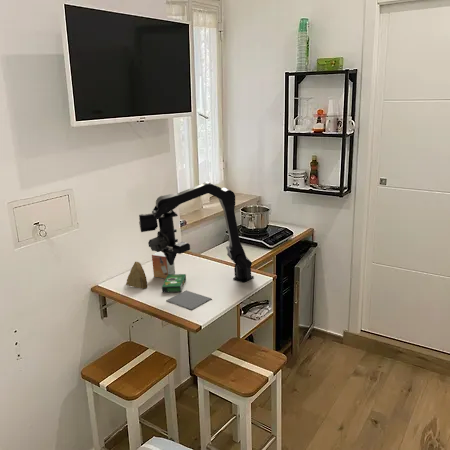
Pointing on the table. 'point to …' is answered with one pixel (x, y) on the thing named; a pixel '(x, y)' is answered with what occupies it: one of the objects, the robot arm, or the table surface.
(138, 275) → the rock
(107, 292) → the table surface
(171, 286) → the coffee box
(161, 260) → the small box
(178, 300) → the mat
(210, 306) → the table surface
